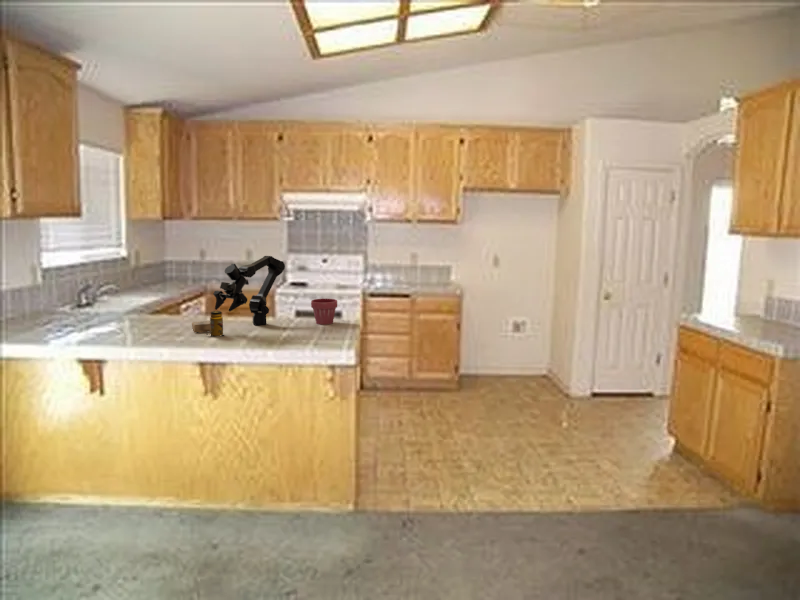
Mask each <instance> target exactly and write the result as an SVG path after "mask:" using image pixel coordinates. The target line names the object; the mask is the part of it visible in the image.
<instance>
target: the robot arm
mask: <svg viewBox="0 0 800 600" xmlns="http://www.w3.org/2000/svg"><path fill="white" fill-rule="evenodd" d="M266 266H267V271H268V273H267V274H266V277H265V279H264V281H263V283H262V286H261V287H260V289H259V291H258V293H257V294H255V295H254V294H253V295H252V296H251V298H250V300H249V301H248V298H247V297H246V295H245V293H243V290H242V289H243V288H244V286H245V285H247V286H249V284H250V283H249V280H248V279H247V278H252V277H253V276H255V275H256V273H257V271H259V270H261V269H263V268H264V267H266ZM285 269H286V264H285V262H284V261H282V260H279V258H278V259H277V258H276V257H274V256H271V255H264V256H262V257H261V258H259V259H258V260H255V261H254V262H252V263H250V264H245V265H240V266H239V267H238V266H237V264H236V263H231V265H229V266H227V267H225V269H224V273H225V275H226V276H227V277H228V278H229V279H230V280H231V281H230V282H225V281H222V282H221V283H220V286H219V288H220V289H222V290H223V291H222V290H214V292H213V294H212V295H213V296H214V297H215V307H214V311H218V309H220V307H221V306H222V305H223V304H224V303H225V302H226V300H227V299H230V300H233V301H232V302H231V304H230V306H229V308H228V311H229V312H232V311H233V310H235V309H237V308H239V307H240V306H242V305H243V306H244V305H247V303H248V302H249V303H248V307H249V311H250V313H251V314H253V315H252V324H253V325H254V324H255V325H254V326H267V325H268V323H267V315H268V314H269V312H270V308H268V306H267V297H268V295H269V293H270V291H271V289H272V288H273V285H274V283H275V281H276V279H277V277H279V276H280V275H282V273H283V272H284V270H285ZM266 324H267V325H266Z"/></svg>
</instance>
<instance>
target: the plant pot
mask: <svg viewBox="0 0 800 600" xmlns="http://www.w3.org/2000/svg"><path fill="white" fill-rule="evenodd" d="M310 305H311V309H312V310H313V314H314V319H315V323H316V324H317V325H320V326H321V325H323V326H325V325H326V326H327V325H332V324H333V323H334V318H335V315H336V314H335V313H336V309H337V308H338V299H335V298H315V299H314V298H313V299H312V300H311V302H310Z"/></svg>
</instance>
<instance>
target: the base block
mask: <svg viewBox="0 0 800 600" xmlns="http://www.w3.org/2000/svg"><path fill="white" fill-rule="evenodd" d="M192 329H193V330H192ZM191 330H192V332H199V333H208V332H207V331H211V330H210V320H203V321H192V323H191Z"/></svg>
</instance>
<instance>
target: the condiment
mask: <svg viewBox="0 0 800 600" xmlns="http://www.w3.org/2000/svg"><path fill="white" fill-rule="evenodd" d="M209 321H210V330H211V332H210V334H211V336H219V337H221V336H220V335H223V334H224V320H223V312H222V311H221V310H213V311H210V317H209ZM208 334H209V333H206V334H204V335H205V336H206V335H208Z"/></svg>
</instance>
